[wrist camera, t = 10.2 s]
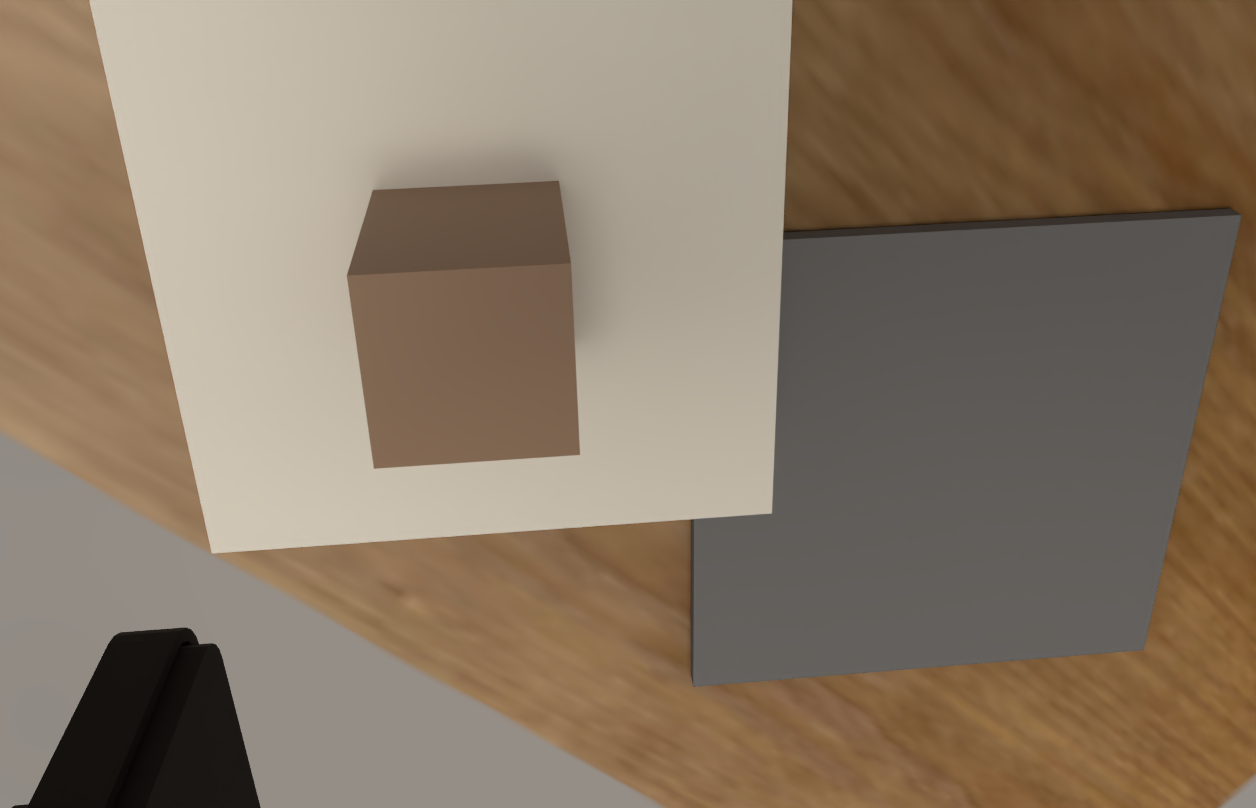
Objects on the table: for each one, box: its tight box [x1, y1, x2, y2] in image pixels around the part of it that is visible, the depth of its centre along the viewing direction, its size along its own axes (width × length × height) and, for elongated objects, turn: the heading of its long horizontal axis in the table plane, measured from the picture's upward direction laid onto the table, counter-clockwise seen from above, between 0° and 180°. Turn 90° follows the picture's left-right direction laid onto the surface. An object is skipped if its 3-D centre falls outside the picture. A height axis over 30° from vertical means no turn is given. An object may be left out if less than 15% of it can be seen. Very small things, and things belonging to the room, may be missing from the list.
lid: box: [89, 0, 792, 553], centre depth 25 cm, size 14×14×6 cm
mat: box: [691, 208, 1242, 687], centre depth 38 cm, size 16×16×1 cm
